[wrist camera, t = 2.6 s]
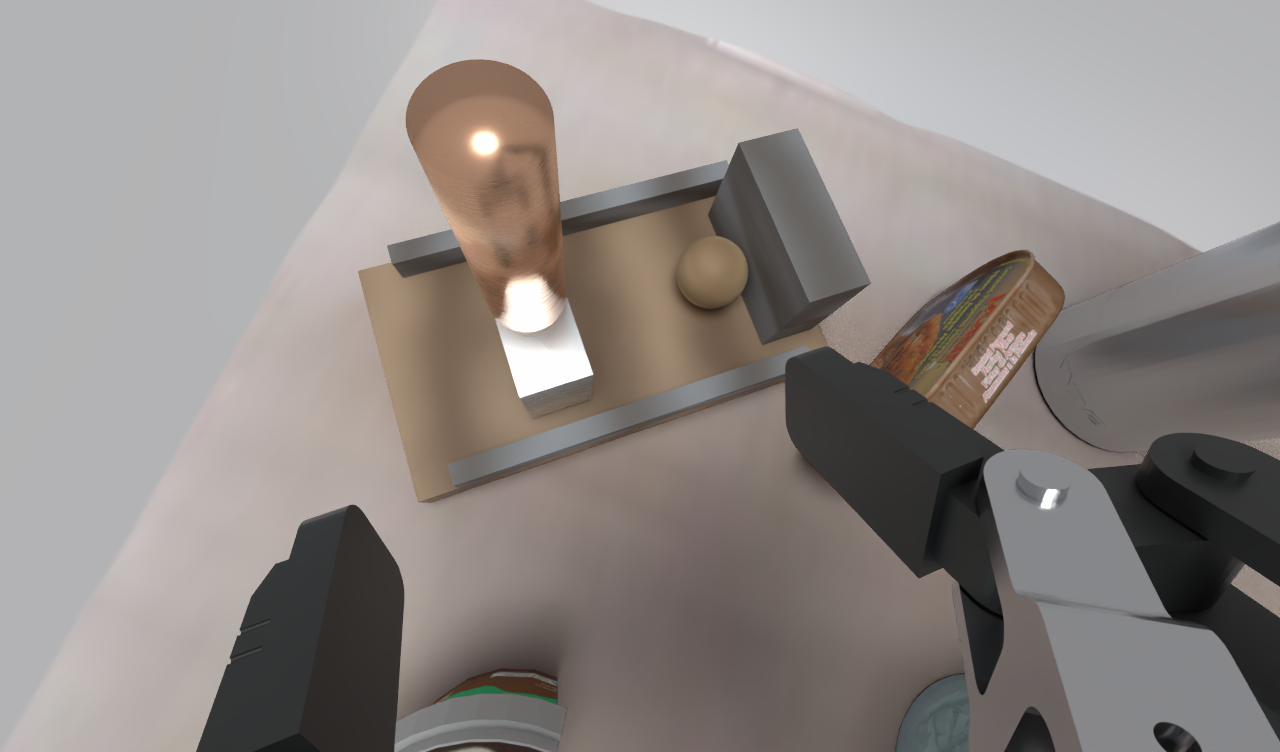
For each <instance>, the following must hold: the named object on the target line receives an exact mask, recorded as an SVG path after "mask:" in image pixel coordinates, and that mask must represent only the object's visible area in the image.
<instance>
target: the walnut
mask: <svg viewBox="0 0 1280 752" xmlns="http://www.w3.org/2000/svg"><path fill="white" fill-rule="evenodd" d="M676 277H677V283H678V286H679V288H680V290H681V292H682V294H683V295H684V296H685V297H686V298H687V299H688V300H689V301H690V302H691V303H693V304H695V305H697V306H699V307H702V308H708V309H714V308H720V307H724V306H726V305H728V304H730V303H732V302H733V301H734V300H735V299H736V298H737V297H738V296H739V295H740V294H741V293H742V291H743V289H744V288H745V285H746V283H747V278H748V264H747V260H746V258H745V255H744V253H743V252H742V250H741V249H740V248H739V247H738V246H737V245H736V244H735V243H734V242H732V241H730V240H729V239H726V238H723V237H719V236H707V237H703V238H700V239H698V240H696V241H694V242H693V243H691V244H690V245H689V246H688V247H687V248H686V249H685V250H684V251H683V253H682V254H681V256H680V258H679V261H678V264H677V269H676Z"/></svg>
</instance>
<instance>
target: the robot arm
mask: <svg viewBox="0 0 1280 752" xmlns="http://www.w3.org/2000/svg"><path fill="white" fill-rule="evenodd" d="M1035 369H1036V373H1037V378H1038V383H1039V386H1040V388H1041V390H1042V393H1043V395H1044V398H1045V400H1046V401H1047V403H1048V405H1049V406H1050V408H1051V409H1052V411H1053V412H1054V414H1055V415H1056V416H1057V417H1058V419H1059V420H1060V421H1061V422H1062V423H1063V424H1064V425H1065V426H1066V427H1067V428H1068V429H1069V430H1070V431H1072V432H1073V433H1074V434H1075V435H1077V436H1078V437H1079V438H1081V439H1082V440H1084V441H1086V442H1088V443H1090V444H1092V445H1094V446H1096V447H1099V448H1102V449H1105V450H1108V451H1115V452H1135V451H1146V450H1148V452H1147V454H1146V456H1145V458H1144V460H1143V462H1142V464H1138V465H1127V466H1117V467H1106V468H1096V469H1085V468H1084V467H1082V466H1081V465H1079V464H1077V463H1075V462H1073V461H1071V460H1069V459H1067V458H1064V457H1062V456H1059V455H1056V454H1053V453H1049V452H1044V451H1040V450H1032V449H1013V450H1007V451H1005V450H1003V449H1001V448H1000V447H998V446H997V445H995V444H994V443H992V442H991V441H989V440H988V439H986V438H985V437H983V436H982V435H981V434H979V433H978V432H976V431H975V430H973V429H972V428H970V427H969V426H967V425H966V424H964V423H963V422H961V421H960V420H958V419H957V418H955V417H954V416H952V415H951V414H949V413H948V412H946V411H945V410H943V409H942V408H941V407H939V406H938V405H936V404H935V403H933V402H930V403H929V402H928V400H927V398H926V397H924V396H923V395H921V394H920V393H918V392H917V391H915V390H914V389H913V390H910V389H909V386H908V385H906V384H905V383H903V382H902V381H900V380H899V379H898V378H896V377H895V376H893V375H892V374H890V373H889V372H887V371H884V370H881V369H878V368H875V367H872V366H870V365H867V364H864V363H861V362H857V363H854V364H853V363H852V362H850V361H849V360H848V359H846V358H845V357H843V356H842V355H841V354H839V353H838V352H836V351H835V350H834V349H832V348H830V347H827V346H824V347H821V348H818V349H815V350H812V351H809V352H806V353H803V354H800V355H797V356H794V357H791V358H789V359H788V360H787V362H786V366H785V397H786V425H787V429H788V433H789V435H790V438H791V440H792V442H793V444H794V445H795V447H796V448H797V449H798V451H799V452H800V453H801V454H802V455H803V456H804V457H805V458H806V459H807V460H808V461H809V462H810V463H811V465H812V466H813V467H814V468H815V469H816V470H817V471H818V472H819V473H820V474H821V475H822V476H823V477H824V478H825V479H826V480H827V482H828V483H829V484H830V485H831V486H832V487H833V488H834V489H835V490H836V491H837V492H838V493H839V494H840V495H841V496H842V497H843V498H844V500H845V501H846V502H847V503H848V504H849V505H850V506H851V507H852V508H853V509H854V510H855V511H856V512H857V513H858V514H859V515H860V517H861V518H862V519H863V520H864V521H865V522H866V523H867V524H868V525H869V526H870V527H871V528H872V529H873V530H874V531H875V532H876V534H877V535H878V536H879V537H880V538H881V539H882V540H883V541H884V542H885V543H886V544H887V545H888V546H889V547H890V548H891V549H892V550H893V552H894V553H895V554H896V555H897V556H898V557H899V558H900V559H901V560H902V561H903V562H904V563H905V564H906V565H907V566H908V567H909V569H910V570H911V571H912V572H913V573H914V574H915V575H916V576H917V577H918V578H921V577H923V576H925V575H927V574H930V573H932V572H934V571H936V570H939V569H941V568H944V569H945V570H946V571H947V572H948V573H949V574H950V575H951V576H952V577H953V578H954V579H953V583H952V596H953V602H954V608H955V615H956V621H957V627H958V634H959V640H960V646H961V653H962V659H963V665H964V671H965V678H966V684H967V690H968V697H969V705H970V728H969V752H1280V618H1279V617H1278V616H1276V615H1275V614H1273V613H1272V612H1270V611H1269V610H1268V609H1266V608H1265V607H1263V606H1262V605H1260V604H1259V603H1257V602H1256V601H1255V600H1253V599H1252V598H1250V597H1249V596H1247V595H1246V594H1244V593H1243V592H1242V591H1240V590H1239V589H1237V588H1236V587H1234V586H1233V585H1231V584H1230V583H1231V582H1232V581H1233V579H1234V578H1235V577H1236V575H1237V574H1238V573H1239V571H1240V570H1241V569H1242V567H1243V566H1244V565H1245V564H1246V565H1248V566H1249V567H1251V568H1252V569H1254V570H1255V571H1257V572H1258V573H1260V574H1261V575H1263V576H1264V577H1266V578H1268V579H1269V580H1271V581H1272V582H1274V583H1275V584H1277V585H1278V586H1280V461H1279V460H1277V459H1275V458H1273V457H1271V456H1269V455H1267V454H1265V453H1263V452H1261V451H1259V450H1257V449H1255V448H1252V447H1250V446H1248V445H1245V444H1242V443H1240V442H1241V441H1252V440H1262V439H1272V438H1280V222H1278V223H1276V224H1273V225H1271V226H1268V227H1266V228H1263V229H1261V230H1258V231H1256V232H1253V233H1251V234H1249V235H1246V236H1244V237H1241V238H1239V239H1236V240H1234V241H1231V242H1229V243H1226V244H1224V245H1221V246H1219V247H1216V248H1214V249H1211V250H1209V251H1207V252H1204V253H1202V254H1199V255H1197V256H1194V257H1192V258H1189V259H1187V260H1185V261H1182V262H1180V263H1177V264H1175V265H1172V266H1170V267H1167V268H1165V269H1162V270H1160V271H1158V272H1155V273H1153V274H1150V275H1148V276H1145V277H1143V278H1140V279H1138V280H1135V281H1132V282H1130V283H1127V284H1125V285H1123V286H1120V287H1118V288H1115V289H1113V290H1110V291H1108V292H1105V293H1103V294H1101V295H1098V296H1096V297H1093V298H1091V299H1088V300H1086V301H1083V302H1081V303H1078V304H1076V305H1074V306H1071V307H1069V308H1066V309H1064V310H1062V311H1061V312H1060V313H1059V315H1058V317H1057V318H1056V320H1055V321H1054V323H1053V324H1052V325H1051V327H1050V328H1049V329H1048V331H1047V332H1046V333H1045V335H1044V336H1043V337H1042V339H1041V340H1040V342H1039V343H1038V344H1037V346H1036V351H1035ZM403 610H404V585H403V580H402V576H401V573H400V570H399V567H398V565H397V563H396V561H395V559H394V558H393V556H392V555H391V553H390V552H389V550H388V549H387V547H386V546H385V544H384V543H383V541H382V540H381V538H380V537H379V535H378V534H377V532H376V531H375V529H374V528H373V526H372V525H371V523H370V522H369V520H368V519H367V517H366V516H365V514H364V513H363V512H362V510H361V509H360V508H359V507H357V506H356V505H349V506H346V507H343V508H340V509H338V510H335V511H332V512H329V513H326V514H323V515H320V516H317V517H314V518H311V519H308V520H305V521H303V522H302V523H301V525H300V526H299V529H298V531H297V535H296V538H295V541H294V545H293V548H292V551H291V554H290V558H289V560H286V561H283V562H280V563H277V564H275V565H274V567H273V568H272V569H271V571H270V572H269V573H268V575H267V576H266V578H265V579H264V580H263V582H262V583H261V584H260V586H259V587H258V588H257V590H256V591H255V592H254V594H253V595H252V597H251V599H250V602H249V605H248V608H247V610H246V613H245V616H244V619H243V622H242V624H241V627H240V631H241V635H239V636H237V639H236V641H235V644H234V647H233V650H232V653H231V655H230V659H231V664H228V665H227V667H226V669H225V672H224V675H223V678H222V681H221V684H220V686H219V689H218V692H217V695H216V698H215V700H214V703H213V706H212V709H211V712H210V714H209V717H208V720H207V723H206V726H205V729H204V731H203V734H202V737H201V740H200V743H199V745H198V748H197V751H196V752H394V747H395V732H396V717H397V702H398V686H399V671H400V656H401V641H402V625H403Z"/></svg>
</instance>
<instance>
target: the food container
mask: <svg viewBox="0 0 1280 752" xmlns="http://www.w3.org/2000/svg"><path fill="white" fill-rule="evenodd" d="M566 711H567V708H564V707H561V706H559V705H558V678H555V677H552V676H550V675H547V674H544V673H541V672H539V671H536V670H522V669H499V670H495V671H492V672H489V673H485V674H482V675H478V676H475V677H472V678H469V679H467V680H466V681H464V682H463V683H461V684H460V685H458V686H457V687H455V688H454V689H452V690H451V691H449V692H448V693H446V694H445V695H443V696H442V697H441V698H439V699H438V700H437V701H436V702H435V703H434V704H433V705H431V706H428V707H425V708H422V709H420V710H418V711H416V712H414V713H412V714H410V715H408V716H406V717H404V718H402V719H400V720H399V721H397V722H396V732H395V747H394V752H557V749H558V742H559V740H560V738H561V735H562V731H563V726H564V721H565V716H566Z"/></svg>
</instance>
